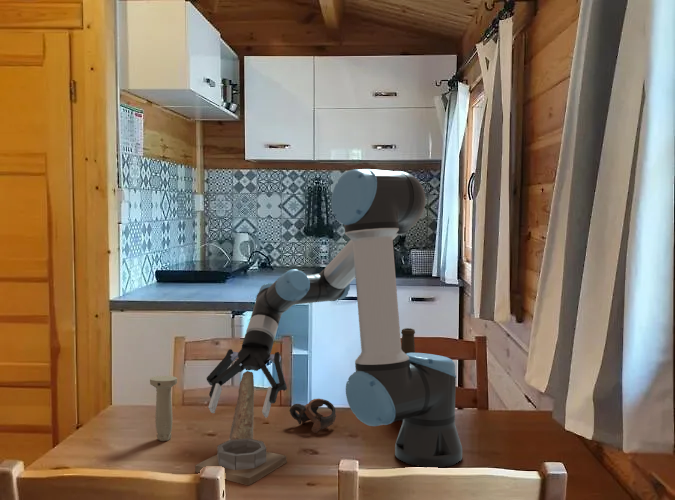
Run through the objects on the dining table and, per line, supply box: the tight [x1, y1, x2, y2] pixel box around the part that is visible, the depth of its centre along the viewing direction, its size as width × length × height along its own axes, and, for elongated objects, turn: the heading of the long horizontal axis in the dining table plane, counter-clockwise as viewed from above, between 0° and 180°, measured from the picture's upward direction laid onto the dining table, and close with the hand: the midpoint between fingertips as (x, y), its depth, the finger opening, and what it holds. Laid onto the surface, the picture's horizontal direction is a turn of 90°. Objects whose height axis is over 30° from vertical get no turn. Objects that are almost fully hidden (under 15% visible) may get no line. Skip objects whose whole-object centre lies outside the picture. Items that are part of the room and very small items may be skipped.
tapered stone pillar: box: [229, 370, 255, 440], centre depth 156 cm, size 6×18×6 cm
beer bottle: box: [400, 327, 416, 354], centre depth 177 cm, size 8×8×24 cm
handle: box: [149, 375, 178, 442], centre depth 159 cm, size 5×6×15 cm
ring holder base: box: [194, 438, 288, 486], centre depth 142 cm, size 14×14×4 cm
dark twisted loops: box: [289, 398, 337, 434], centre depth 169 cm, size 12×10×8 cm
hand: (237, 412), depth 154 cm, fingers open, 13 cm apart
